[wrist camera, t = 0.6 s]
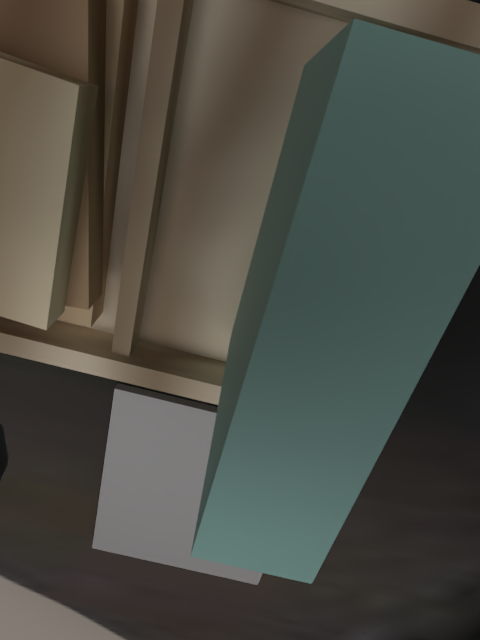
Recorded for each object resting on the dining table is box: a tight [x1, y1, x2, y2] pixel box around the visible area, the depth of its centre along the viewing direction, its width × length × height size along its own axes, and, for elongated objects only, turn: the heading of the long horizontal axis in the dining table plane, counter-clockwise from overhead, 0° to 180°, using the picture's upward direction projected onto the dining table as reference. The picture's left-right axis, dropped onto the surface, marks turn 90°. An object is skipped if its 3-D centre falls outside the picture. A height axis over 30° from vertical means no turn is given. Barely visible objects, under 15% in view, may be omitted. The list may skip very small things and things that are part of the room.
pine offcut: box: [0, 52, 99, 330], centre depth 14 cm, size 4×8×2 cm, turn 162°
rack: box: [0, 0, 480, 405], centre depth 17 cm, size 20×16×3 cm
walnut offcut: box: [0, 0, 106, 310], centre depth 15 cm, size 4×10×2 cm, turn 171°
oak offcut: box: [57, 0, 139, 328], centre depth 17 cm, size 5×12×2 cm, turn 166°
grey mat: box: [92, 383, 263, 585], centre depth 26 cm, size 11×13×1 cm
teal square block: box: [190, 18, 480, 584], centre depth 13 cm, size 3×11×11 cm, turn 166°
